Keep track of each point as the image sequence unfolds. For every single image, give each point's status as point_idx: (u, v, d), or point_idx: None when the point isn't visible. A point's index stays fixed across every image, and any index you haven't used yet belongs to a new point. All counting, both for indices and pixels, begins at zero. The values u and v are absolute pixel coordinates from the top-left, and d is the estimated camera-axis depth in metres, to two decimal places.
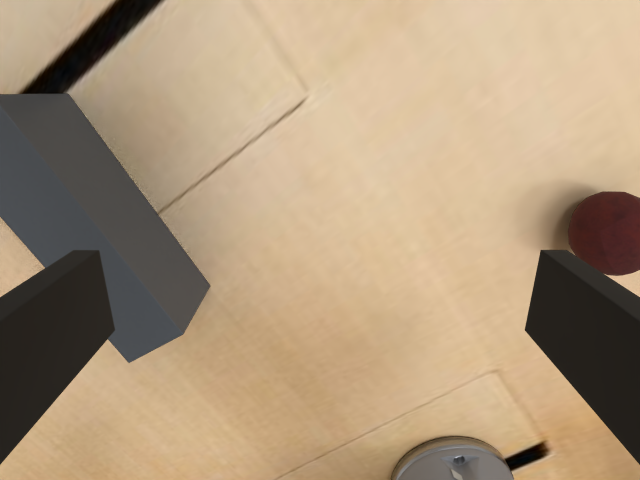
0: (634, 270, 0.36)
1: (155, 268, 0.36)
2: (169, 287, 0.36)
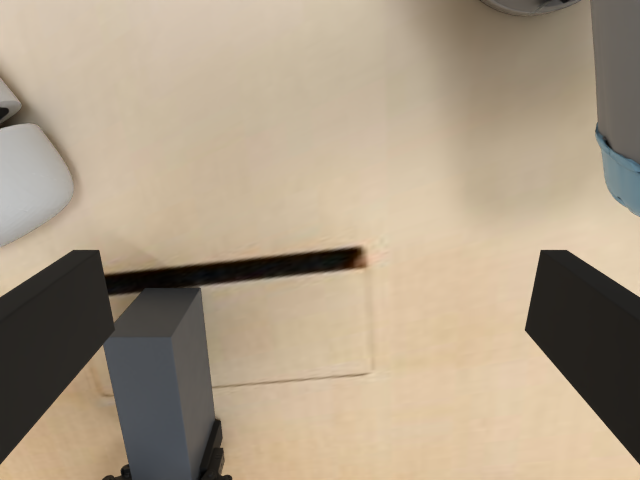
0: None
1: (200, 457, 0.43)
2: None
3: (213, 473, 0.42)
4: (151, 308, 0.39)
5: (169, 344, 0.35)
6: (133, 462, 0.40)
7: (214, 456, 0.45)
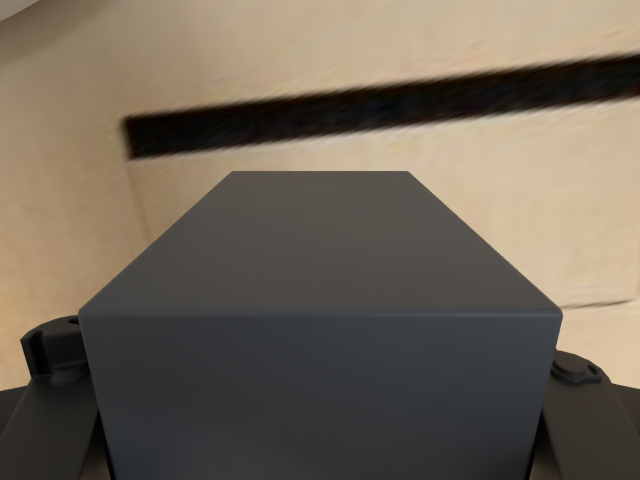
0: None
1: None
2: None
3: None
4: (297, 205, 0.09)
5: (538, 364, 0.05)
6: None
7: None
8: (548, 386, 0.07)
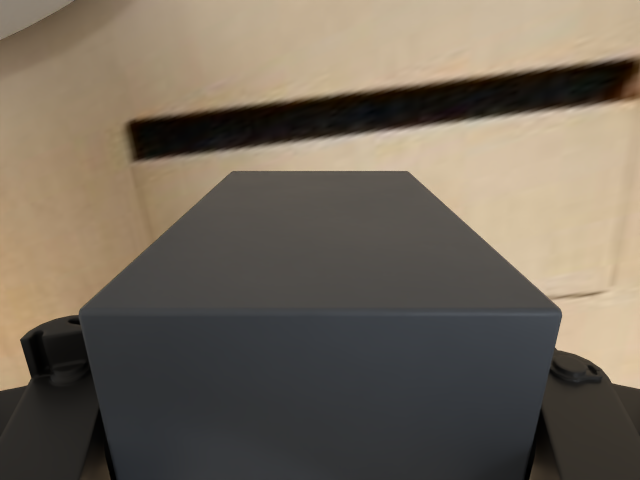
0: None
1: None
2: None
3: None
4: (297, 205, 0.09)
5: (538, 364, 0.05)
6: None
7: None
8: (548, 386, 0.07)
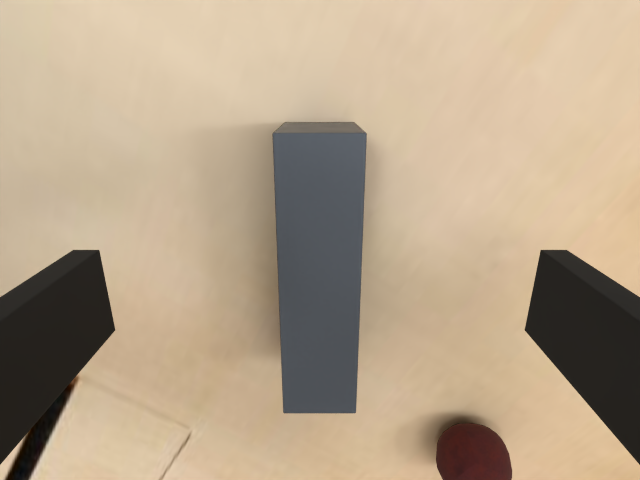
0: None
1: None
2: None
3: None
4: (312, 126, 0.30)
5: (363, 145, 0.26)
6: (286, 328, 0.30)
7: None
8: None
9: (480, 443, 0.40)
